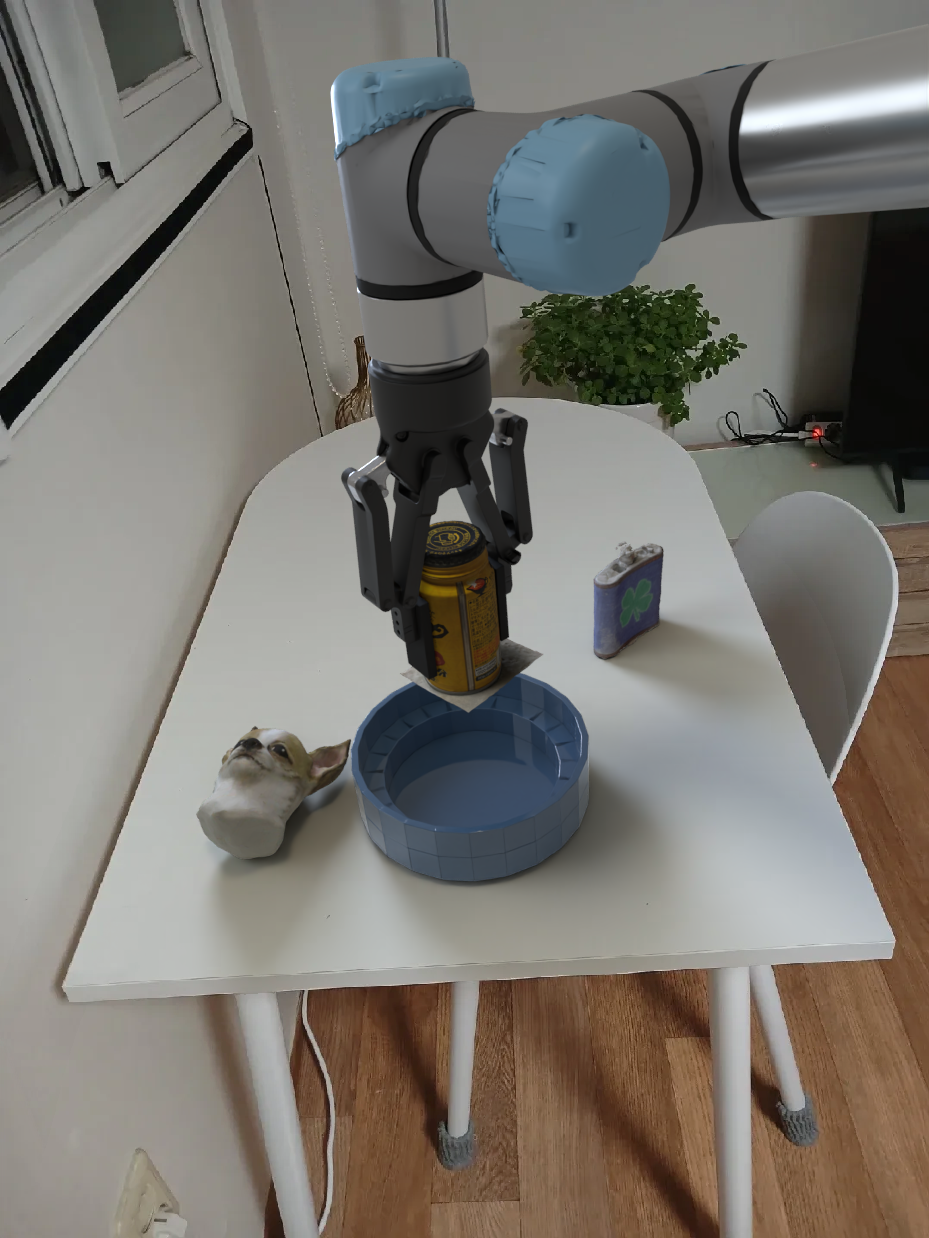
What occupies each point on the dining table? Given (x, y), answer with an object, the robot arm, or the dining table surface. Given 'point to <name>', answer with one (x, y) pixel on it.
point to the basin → (472, 779)
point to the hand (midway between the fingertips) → (459, 649)
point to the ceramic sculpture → (265, 789)
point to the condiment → (465, 619)
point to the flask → (627, 598)
